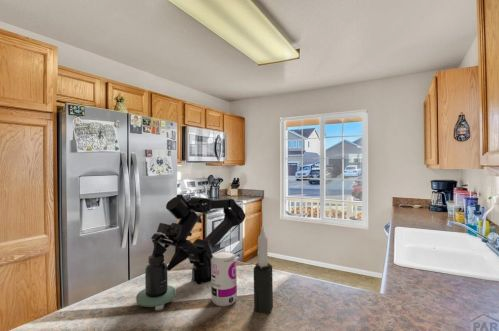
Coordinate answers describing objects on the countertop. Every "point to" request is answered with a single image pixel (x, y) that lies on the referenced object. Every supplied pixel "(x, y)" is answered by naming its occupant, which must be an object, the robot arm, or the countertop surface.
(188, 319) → the countertop surface
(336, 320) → the countertop surface
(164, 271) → the supplement bottle
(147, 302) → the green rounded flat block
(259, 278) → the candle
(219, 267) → the supplement can
